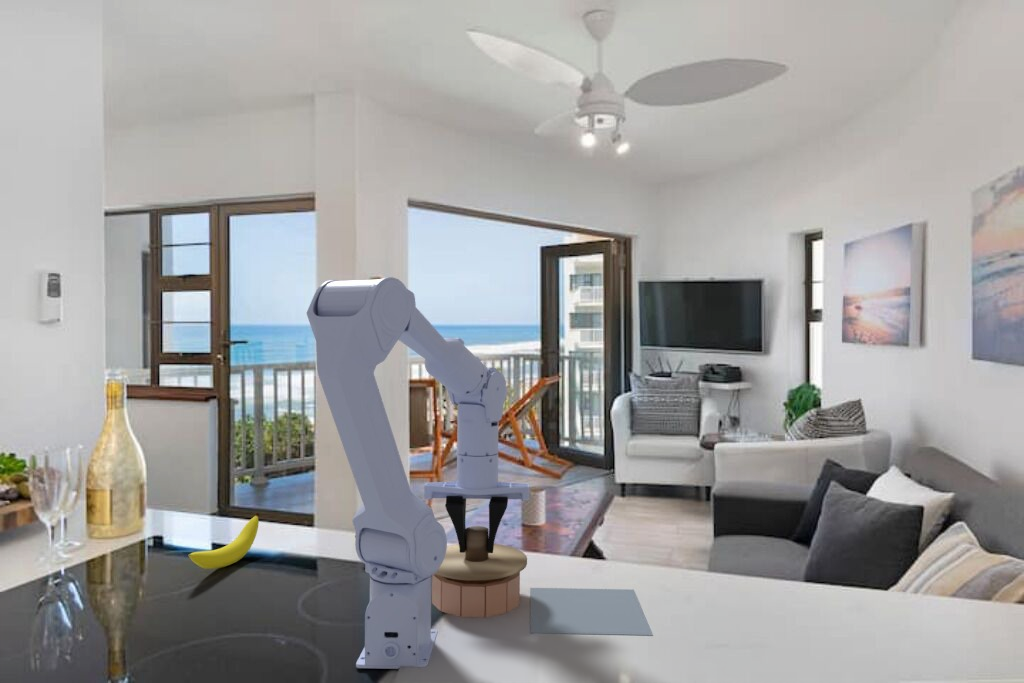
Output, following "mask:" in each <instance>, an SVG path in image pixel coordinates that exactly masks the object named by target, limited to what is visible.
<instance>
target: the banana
mask: <svg viewBox="0 0 1024 683" xmlns="http://www.w3.org/2000/svg"><path fill="white" fill-rule="evenodd" d="M260 515H261V512H259V511H258V512H255V514H254V516H253V517H252V518H251V519H249V520H248V522H247V523H246V524H245V526H244V527H243V528H242V530H241V531H240V533H239V534H238V535H237V537H236V538H234V540H233V541H232V542H230V543H228V544H227V545H225V546H222V547H220V548H217V549H213V550H205V551H204V550H203V551H194V552H191V553H189V554H188V557H189V559H190V560H191V561H192V562H193V563H194V564H195V565H197V566H198V567H200V568H202V569H206V570H212V569H221V568H225V567H227V566H230V565H233V564H234V563H235V564H236V563H237V562H238V561H240V560H241V559H243V558H244V557H245V555H246V554H248V552H249V550H250V549H251V547H252V546H253V545H254V541H255V539H256V536H257V533H258V530H259V516H260Z"/></svg>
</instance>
